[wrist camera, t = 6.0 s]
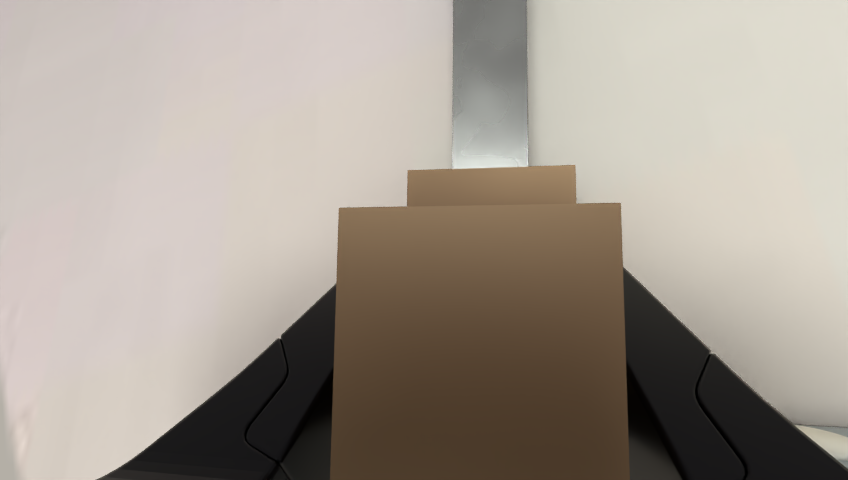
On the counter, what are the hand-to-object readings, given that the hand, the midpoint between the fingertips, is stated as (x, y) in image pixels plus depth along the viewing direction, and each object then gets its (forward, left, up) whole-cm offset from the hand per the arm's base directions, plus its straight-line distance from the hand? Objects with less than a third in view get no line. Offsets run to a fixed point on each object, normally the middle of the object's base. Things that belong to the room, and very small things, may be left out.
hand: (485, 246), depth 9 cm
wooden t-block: (0, 0, -6) cm, 6 cm away
